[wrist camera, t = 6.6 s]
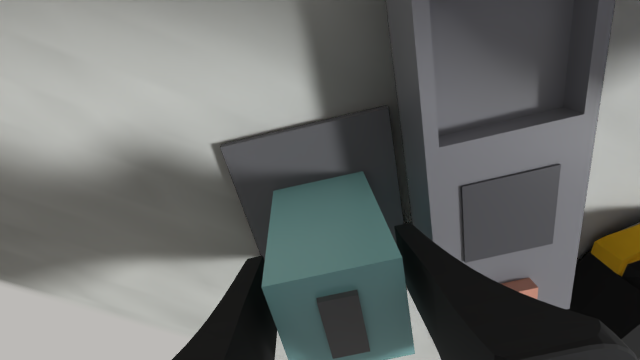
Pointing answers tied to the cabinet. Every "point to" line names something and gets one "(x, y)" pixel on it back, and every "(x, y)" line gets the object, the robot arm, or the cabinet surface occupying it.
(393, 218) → the mat
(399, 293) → the block
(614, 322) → the gaming controller
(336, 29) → the cabinet surface
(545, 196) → the power strip
